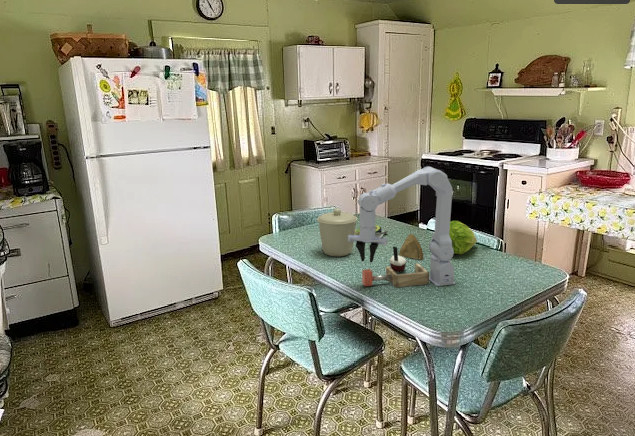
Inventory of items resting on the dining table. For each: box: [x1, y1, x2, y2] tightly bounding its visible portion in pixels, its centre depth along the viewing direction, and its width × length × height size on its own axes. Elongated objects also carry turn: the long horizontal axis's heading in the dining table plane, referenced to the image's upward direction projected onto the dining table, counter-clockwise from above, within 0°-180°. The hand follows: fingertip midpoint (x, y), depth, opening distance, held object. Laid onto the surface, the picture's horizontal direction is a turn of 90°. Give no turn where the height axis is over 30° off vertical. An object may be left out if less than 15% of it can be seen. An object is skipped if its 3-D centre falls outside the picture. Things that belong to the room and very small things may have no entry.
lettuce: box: [449, 220, 478, 255], centre depth 206 cm, size 15×25×16 cm
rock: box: [398, 233, 424, 260], centre depth 201 cm, size 11×9×10 cm
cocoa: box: [389, 246, 407, 273], centre depth 185 cm, size 10×6×12 cm, turn 132°
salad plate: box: [355, 224, 389, 238], centre depth 233 cm, size 19×18×5 cm
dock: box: [385, 263, 430, 288], centre depth 177 cm, size 10×13×4 cm
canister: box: [316, 208, 358, 257], centre depth 207 cm, size 18×18×21 cm
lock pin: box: [361, 268, 392, 287], centre depth 173 cm, size 3×11×5 cm, turn 102°
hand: (367, 261), depth 171 cm, fingers open, 3 cm apart
